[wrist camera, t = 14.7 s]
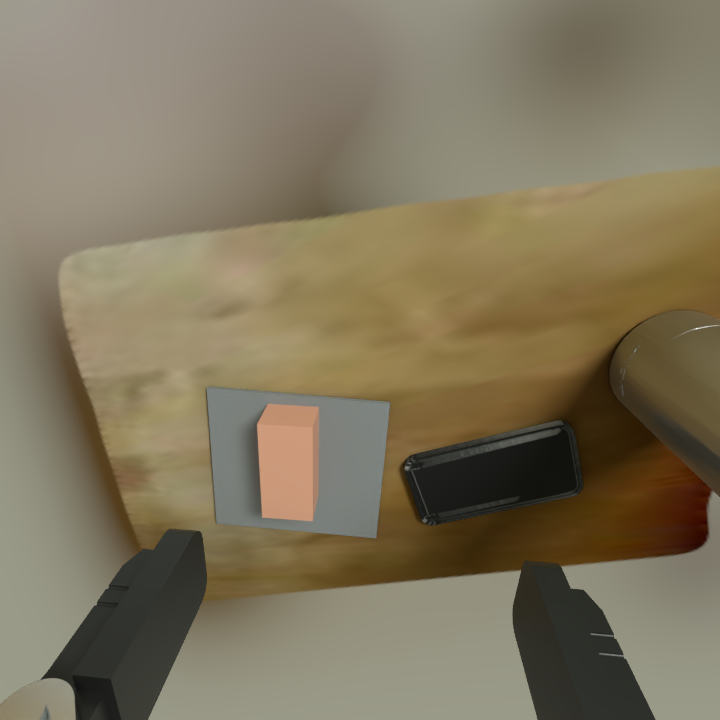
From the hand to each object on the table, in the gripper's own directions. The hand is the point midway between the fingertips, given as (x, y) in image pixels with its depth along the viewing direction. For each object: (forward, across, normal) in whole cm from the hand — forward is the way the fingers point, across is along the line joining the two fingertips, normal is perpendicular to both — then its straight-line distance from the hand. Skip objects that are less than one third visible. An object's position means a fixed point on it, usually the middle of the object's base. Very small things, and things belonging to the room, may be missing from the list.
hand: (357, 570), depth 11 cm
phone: (+27, -11, +15) cm, 33 cm away
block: (+24, +7, +19) cm, 31 cm away
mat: (+26, +7, +16) cm, 31 cm away
